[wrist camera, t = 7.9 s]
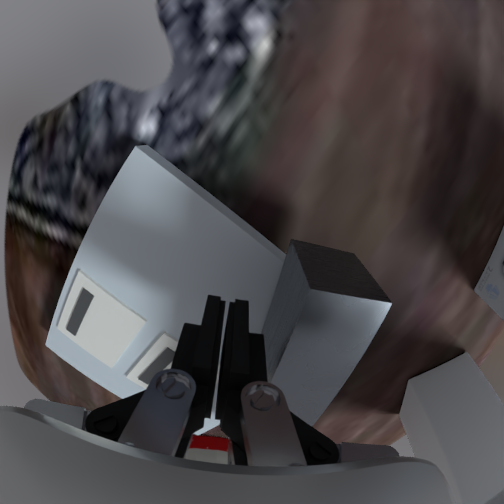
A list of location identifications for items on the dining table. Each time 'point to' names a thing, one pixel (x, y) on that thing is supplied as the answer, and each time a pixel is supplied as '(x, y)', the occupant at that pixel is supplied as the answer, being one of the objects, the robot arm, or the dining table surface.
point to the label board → (156, 276)
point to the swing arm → (319, 325)
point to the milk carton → (458, 428)
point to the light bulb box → (494, 279)
